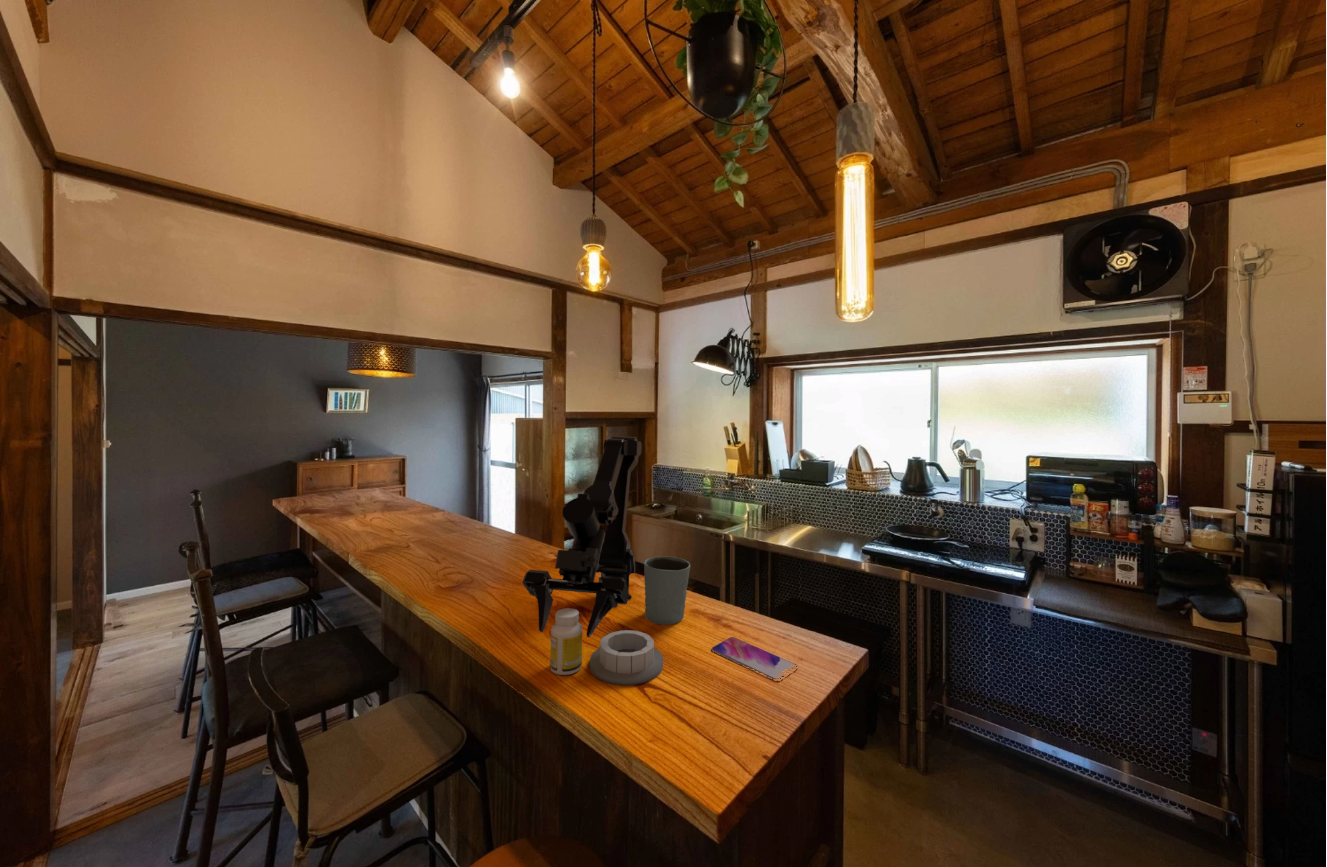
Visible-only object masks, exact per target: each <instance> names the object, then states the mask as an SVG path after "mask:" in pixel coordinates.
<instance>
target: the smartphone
mask: <svg viewBox="0 0 1327 867" xmlns="http://www.w3.org/2000/svg"><path fill="white" fill-rule="evenodd" d="M710 650H712V651H714V652H715V653H714V652H713V653H714V654H716V653H718V654H720V655H722V656H723V658H724V657H726V658H727V660H728V659H730V660H732V661H731V662H733V661H735V662H736V663H735V662H734V663H735V664H737V663H739V664H741V665H744V666H745V667H749V668H750V669H754V670H755V671H758V672H759V673H763V674H764V675H766V676H767V677H770V678H772V679H779V678H780V677H784V676H779V675H784V674H780V673H785V672H782V671H786V670H784V669H793V668H791V667H795V666H793V665H797V664H796V663H794V662H792V661H790V660H788V659H785V658H784V657H780V656H778V655H775V654H773V653H772V652H769V651H767V650H764V649H762V648H760V647H758V646H756V645H753V644H750V643H749V642H747V641H743V640H741V639H739V638H737V637H735V636H730V637H729V638H726V639H725V640H723V641H721V642H719V643H717V644H716V645H714V646H712V647H711V648H710ZM712 651H711V652H712ZM718 654H717V655H718ZM720 655H719V656H720ZM722 656H721V657H722ZM726 658H725V659H726ZM730 660H729V661H730ZM739 664H738V665H739ZM741 665H740V666H741ZM791 665H792V666H791ZM797 666H798V665H797ZM797 666H796V667H797ZM745 667H744V668H745ZM789 667H790V668H789ZM787 671H788V670H787ZM789 671H790V670H789ZM778 673H779V674H778ZM786 673H787V672H786ZM776 675H777V676H776ZM777 677H779V678H777ZM780 679H781V678H780Z"/></svg>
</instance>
